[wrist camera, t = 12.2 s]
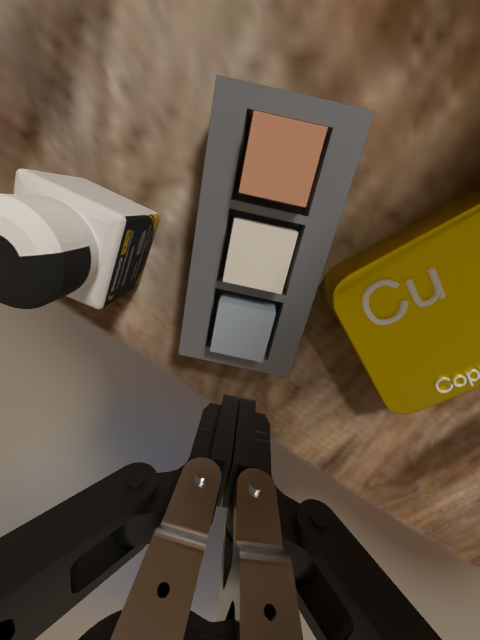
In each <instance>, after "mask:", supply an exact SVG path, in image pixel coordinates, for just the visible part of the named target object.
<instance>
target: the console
mask: <svg viewBox="0 0 480 640" xmlns="http://www.w3.org/2000/svg"><path fill="white" fill-rule="evenodd" d="M254 110H255V111H259V112H264V113H268V114H272V115H277V116H281V117H286V118H290V119H294V120H299V121H303V122H308V123H312V124H317V125H321V126H325V127H328V129H327V133H326V136H325V140H324V143H323V147H322V151H321V154H320V158H319V162H318V165H317V169H316V173H315V176H314V180H313V183H312V187H311V191H310V194H309V198H308V202H307V205H306V207H296V206H291V205H287V204H282V203H278V202H273V201H269V200H264V199H260V198H255V197H251V196H246V195H242V194H241V193H239V188H240V183H241V177H242V172H243V166H244V161H245V156H246V150H247V145H248V139H249V134H250V128H251V123H252V118H253V112H254ZM374 112H375V111H373V110H369V109H364V108H360V107H356V106H351V105H347V104H342V103H338V102H334V101H329V100H325V99H321V98H316V97H312V96H307V95H303V94H299V93H294V92H290V91H285V90H281V89H277V88H272V87H268V86H263V85H259V84H255V83H250V82H246V81H241V80H237V79H233V78H228V77H224V76H219V75H216V81H215V88H214V96H213V103H212V110H211V118H210V125H209V132H208V140H207V147H206V155H205V162H204V169H203V177H202V184H201V191H200V199H199V206H198V213H197V221H196V228H195V236H194V243H193V250H192V258H191V265H190V272H189V280H188V287H187V294H186V302H185V309H184V316H183V324H182V331H181V339H180V346H179V353H178V354H179V355H184V356H189V357H193V358H198V359H203V360H207V361H212V362H217V363H221V364H226V365H231V366H235V367H240V368H245V369H249V370H254V371H259V372H263V373H268V374H273V375H277V376H282V377H286V378H289V375H290V372H291V369H292V366H293V363H294V359H295V356H296V353H297V350H298V347H299V344H300V341H301V338H302V335H303V332H304V329H305V325H306V322H307V319H308V316H309V313H310V310H311V307H312V304H313V301H314V298H315V295H316V291H317V288H318V285H319V282H320V279H321V276H322V273H323V270H324V267H325V264H326V261H327V257H328V254H329V251H330V248H331V245H332V242H333V239H334V236H335V233H336V230H337V227H338V223H339V220H340V217H341V214H342V211H343V208H344V205H345V202H346V199H347V196H348V193H349V190H350V186H351V183H352V180H353V177H354V174H355V171H356V168H357V165H358V162H359V159H360V156H361V152H362V149H363V146H364V143H365V140H366V137H367V134H368V131H369V128H370V125H371V122H372V118H373V115H374ZM236 217H242V218H247V219H251V220H256V221H260V222H265V223H269V224H274V225H278V226H283V227H287V228H292V229H294V230H296V231H297V232H298V236H297V240H296V244H295V247H294V251H293V255H292V258H291V262H290V266H289V269H288V273H287V277H286V280H285V284H284V288H283V291H282V294H278V293H273V292H268V291H264V290H259V289H255V288H250V287H246V286H241V285H236V284H232V283H227V282H223V276H224V271H225V265H226V260H227V254H228V249H229V244H230V238H231V233H232V227H233V222H234V218H236ZM224 290H227V291H231V292H236V293H241V294H245V295H250V296H254V297H259V298H264V299H268V300H273V301H274V303H275V310H276V315H275V319H274V323H273V326H272V330H271V334H270V337H269V341H268V345H267V348H266V352H265V355H264V359H263V363H262V362H257V361H253V360H248V359H243V358H239V357H234V356H229V355H225V354H220V353H216V352H211V351H210V347H211V342H212V337H213V331H214V326H215V320H216V315H217V310H218V304H219V300H220V298H221V296H222V293H223V291H224Z"/></svg>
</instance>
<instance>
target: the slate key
mask: <svg viewBox="0 0 480 640" xmlns="http://www.w3.org/2000/svg"><path fill="white" fill-rule="evenodd" d="M275 315H276V310H275V303H274V301H273V300H268V299H264V298H259V297H254V296H250V295H245V294H241V293H236V292H231V291H227V290H224V291H223V293H222V296H221V298H220V300H219V304H218V310H217V315H216V320H215V326H214V331H213V337H212V342H211V347H210V351H211V352H216V353H220V354H225V355H229V356H234V357H239V358H243V359H248V360H253V361H257V362H262V363H263V359H264V355H265V352H266V348H267V345H268V341H269V337H270V334H271V330H272V326H273V323H274V319H275Z"/></svg>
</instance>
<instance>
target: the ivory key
mask: <svg viewBox="0 0 480 640" xmlns="http://www.w3.org/2000/svg"><path fill="white" fill-rule="evenodd" d="M297 236H298V232H297V231H296V230H294V229H292V228H287V227H283V226H278V225H274V224H269V223H265V222H260V221H256V220H251V219H247V218H242V217H236V218H234V222H233V227H232V233H231V238H230V244H229V249H228V254H227V260H226V265H225V271H224V276H223V282H227V283H232V284H236V285H241V286H246V287H250V288H255V289H259V290H264V291H268V292H273V293H278V294H282V291H283V288H284V284H285V280H286V277H287V273H288V269H289V266H290V262H291V258H292V255H293V251H294V247H295V244H296V240H297Z"/></svg>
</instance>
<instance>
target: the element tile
mask: <svg viewBox="0 0 480 640" xmlns="http://www.w3.org/2000/svg"><path fill="white" fill-rule="evenodd" d="M323 293H324V296H325V298H326V300H327V302H328V304H329V306H330V308H331V309H332V311H333V313H334V315H335V317H336V319H337V321H338V322H339V324H340V326H341V328H342V330H343V332H344V334H345V335H346V337H347V339H348V341H349V343H350V345H351V346H352V348H353V350H354V352H355V354H356V356H357V358H358V359H359V361H360V363H361V365H362V367H363V369H364V371H365V372H366V374H367V376H368V378H369V380H370V382H371V383H372V385H373V386H374V388H375V390H376V391H377V393H378V394H379V396H380V398H381V399H382V401H383V402H384V404H385V405H386V406H387V407H388V408H389V409H390V410H392V411H393V412H395V413H399V414H411V413H414V412H418V411H421V410H423V409H426V408H428V407H431V406H434V405H436V404H439V403H441V402H444V401H447V400H449V399H452V398H454V397H457V396H459V395H462V394H465V393H467V392H470V391H472V390H475V389H478V388H480V190H479V191H473V192H469V193H466V194H464V195H461V196H460V197H458V198H456V199H454V200H453V201H451V202H449V203H447V204H445V205H444V206H442V207H440V208H438V209H436V210H435V211H433V212H431V213H429V214H427V215H426V216H424V217H422V218H420V219H418V220H417V221H415V222H413V223H411V224H410V225H408V226H406V227H404V228H402V229H401V230H399V231H397V232H395V233H393V234H392V235H390V236H388V237H386V238H384V239H383V240H381V241H379V242H377V243H375V244H374V245H372V246H370V247H368V248H367V249H365V250H363V251H361V252H359V253H358V254H356V255H354V256H352V257H350V258H349V259H347V260H345V261H343V262H341V263H340V264H338V265H336V266H335V267H334V268H332V269H331V270H330V271H329V272H328V274H327V275H326V276H325V278H324V281H323Z"/></svg>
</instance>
